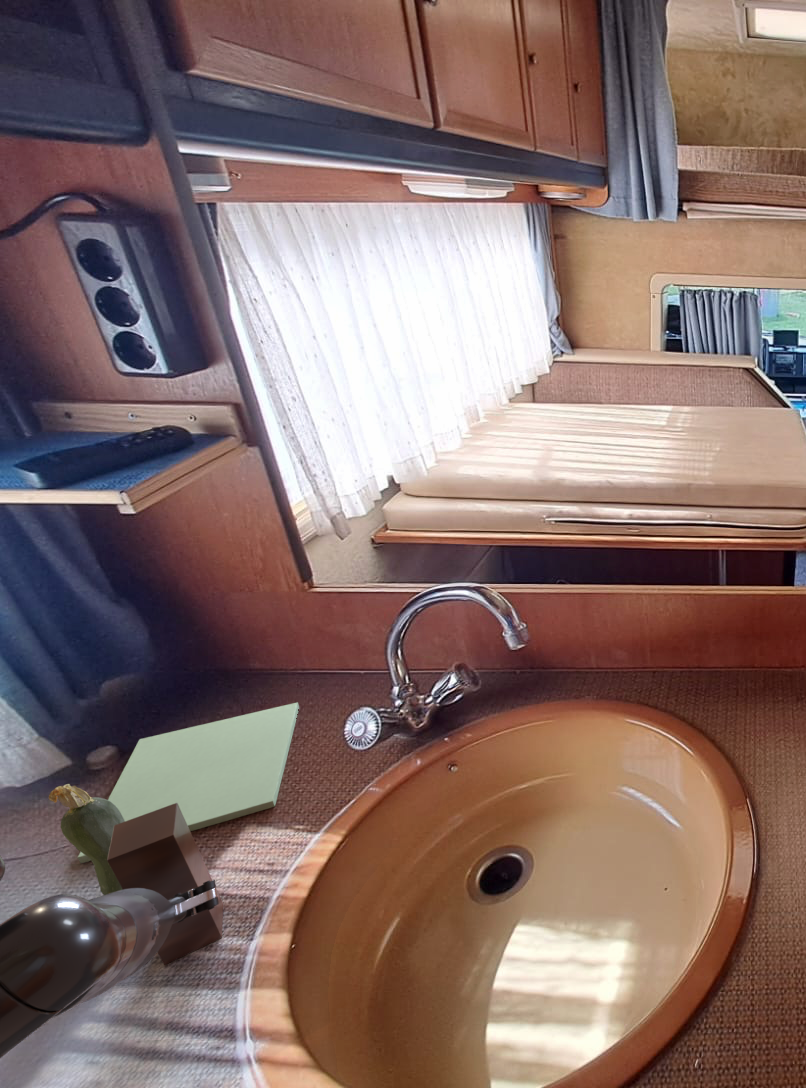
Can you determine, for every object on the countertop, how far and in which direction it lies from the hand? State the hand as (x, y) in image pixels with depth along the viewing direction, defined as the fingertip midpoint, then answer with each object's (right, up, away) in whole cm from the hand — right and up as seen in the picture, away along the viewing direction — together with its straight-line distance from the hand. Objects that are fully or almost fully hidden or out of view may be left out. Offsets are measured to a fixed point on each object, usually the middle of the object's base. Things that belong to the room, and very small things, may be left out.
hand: (158, 916), depth 66 cm
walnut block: (-4, -8, +8) cm, 12 cm away
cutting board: (-22, +2, +28) cm, 36 cm away
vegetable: (-15, -6, +12) cm, 20 cm away
